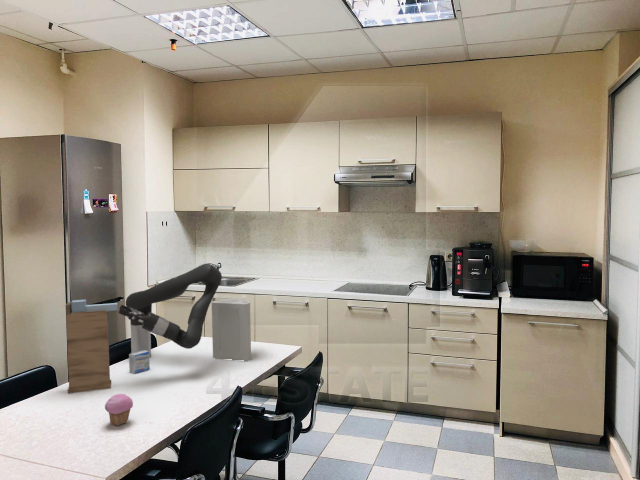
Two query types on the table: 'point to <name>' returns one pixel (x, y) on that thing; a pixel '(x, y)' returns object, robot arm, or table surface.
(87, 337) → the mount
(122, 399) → the cupcake
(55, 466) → the table surface
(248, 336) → the grey box
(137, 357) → the medicine box
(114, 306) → the bar
